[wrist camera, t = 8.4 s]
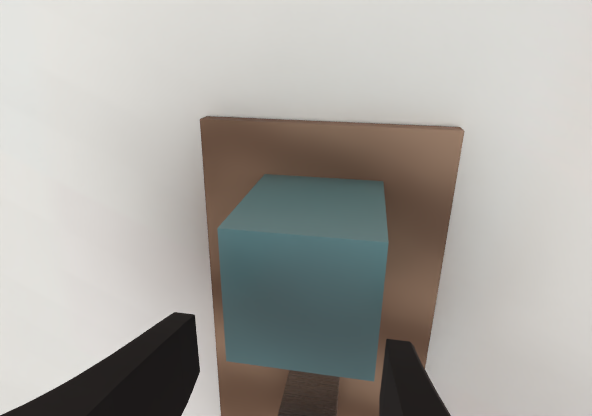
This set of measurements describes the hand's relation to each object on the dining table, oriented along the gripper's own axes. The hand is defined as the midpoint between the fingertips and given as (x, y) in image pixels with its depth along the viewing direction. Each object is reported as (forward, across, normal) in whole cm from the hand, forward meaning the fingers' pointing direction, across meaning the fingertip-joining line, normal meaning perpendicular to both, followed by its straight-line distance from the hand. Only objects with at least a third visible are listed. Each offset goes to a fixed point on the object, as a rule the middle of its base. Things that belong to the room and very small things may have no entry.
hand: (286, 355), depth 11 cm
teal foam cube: (+8, 0, 0) cm, 8 cm away
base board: (+9, 0, +4) cm, 10 cm away
